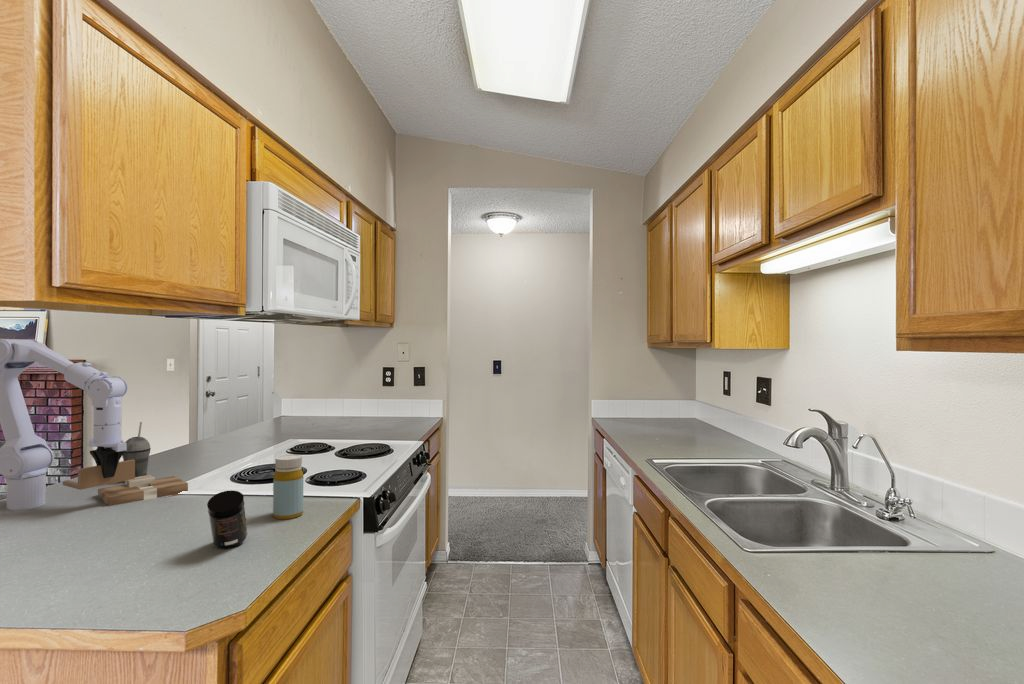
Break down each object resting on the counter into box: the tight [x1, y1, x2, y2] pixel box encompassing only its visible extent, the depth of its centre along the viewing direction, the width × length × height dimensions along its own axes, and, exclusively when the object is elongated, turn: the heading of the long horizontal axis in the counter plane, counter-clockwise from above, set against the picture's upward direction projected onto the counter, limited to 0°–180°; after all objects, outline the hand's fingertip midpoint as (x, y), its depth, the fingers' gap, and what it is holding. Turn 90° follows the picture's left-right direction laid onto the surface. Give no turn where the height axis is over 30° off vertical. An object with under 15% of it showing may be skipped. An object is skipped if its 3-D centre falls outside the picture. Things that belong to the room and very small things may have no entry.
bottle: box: [272, 454, 304, 520], centre depth 129 cm, size 7×7×15 cm
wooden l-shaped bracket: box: [62, 460, 135, 490], centre depth 132 cm, size 9×12×5 cm
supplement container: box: [207, 490, 248, 550], centre depth 108 cm, size 7×7×10 cm
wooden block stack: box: [97, 474, 189, 507], centre depth 141 cm, size 14×18×6 cm
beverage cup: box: [121, 421, 152, 477], centre depth 154 cm, size 7×7×20 cm
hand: (107, 476), depth 130 cm, fingers closed on wooden l-shaped bracket
